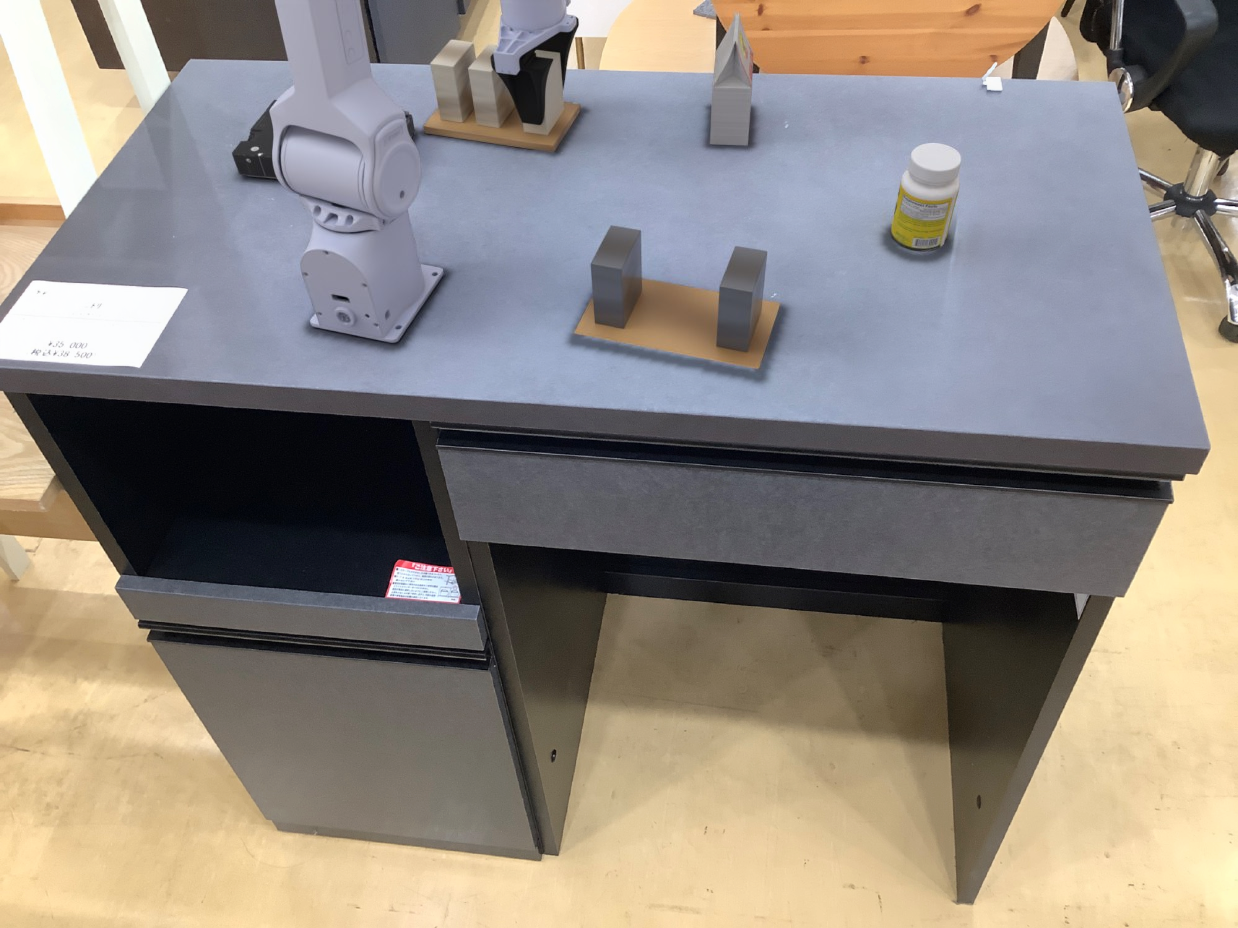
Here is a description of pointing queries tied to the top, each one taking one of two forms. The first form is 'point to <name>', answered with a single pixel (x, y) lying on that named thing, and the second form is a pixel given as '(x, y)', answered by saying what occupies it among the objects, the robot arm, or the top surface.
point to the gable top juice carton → (732, 88)
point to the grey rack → (679, 305)
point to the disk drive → (269, 147)
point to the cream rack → (483, 102)
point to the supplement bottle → (927, 197)
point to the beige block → (550, 96)
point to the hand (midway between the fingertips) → (542, 108)
